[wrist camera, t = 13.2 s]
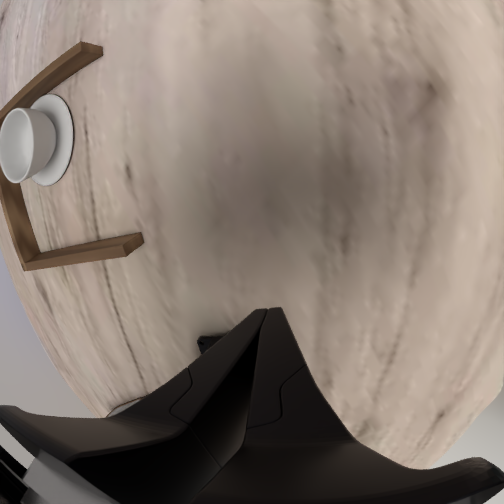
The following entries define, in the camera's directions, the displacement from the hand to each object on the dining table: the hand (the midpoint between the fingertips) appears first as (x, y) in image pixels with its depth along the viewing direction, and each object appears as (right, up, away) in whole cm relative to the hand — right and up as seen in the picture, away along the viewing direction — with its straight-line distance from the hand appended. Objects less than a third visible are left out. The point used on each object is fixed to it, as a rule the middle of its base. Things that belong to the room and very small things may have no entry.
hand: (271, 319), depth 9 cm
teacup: (-22, +14, +13) cm, 29 cm away
